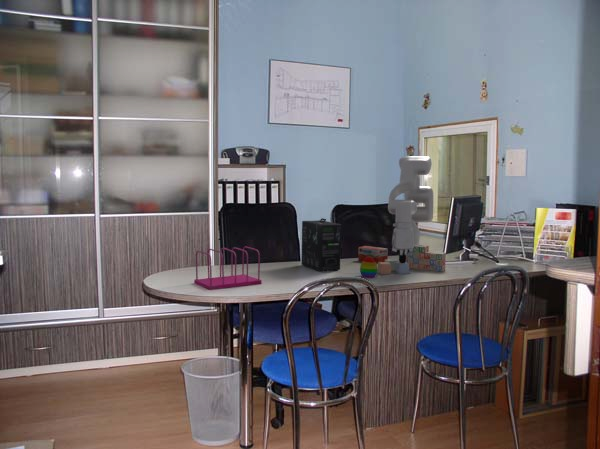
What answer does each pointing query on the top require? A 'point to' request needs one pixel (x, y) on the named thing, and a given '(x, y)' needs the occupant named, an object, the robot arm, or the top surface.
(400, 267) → the slate-blue cube
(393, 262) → the sage cube
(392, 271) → the charcoal mat
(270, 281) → the top surface
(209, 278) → the file sorter
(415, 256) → the stack of blocks
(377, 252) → the medicine box
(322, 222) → the headset box
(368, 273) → the decorative egg
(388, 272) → the terracotta cube
